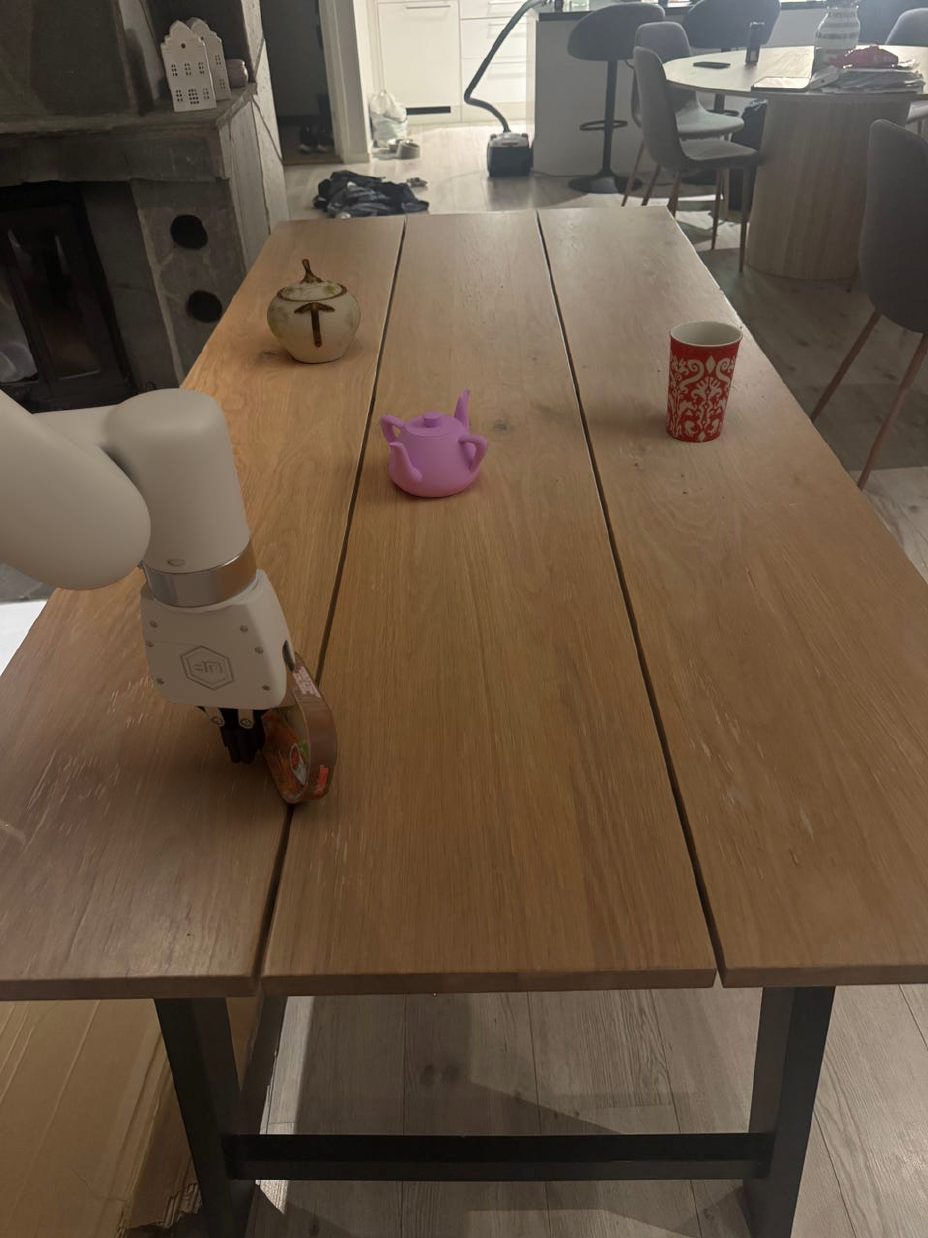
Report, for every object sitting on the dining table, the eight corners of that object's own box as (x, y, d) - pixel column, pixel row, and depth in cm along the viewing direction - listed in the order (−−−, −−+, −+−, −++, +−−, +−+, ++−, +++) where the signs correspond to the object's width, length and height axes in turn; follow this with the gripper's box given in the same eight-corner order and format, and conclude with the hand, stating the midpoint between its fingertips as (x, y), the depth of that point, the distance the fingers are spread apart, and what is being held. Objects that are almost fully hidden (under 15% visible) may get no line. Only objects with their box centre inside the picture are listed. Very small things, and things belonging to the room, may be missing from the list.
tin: (244, 709, 82) (253, 629, 78) (278, 706, 83) (290, 627, 79) (293, 827, 71) (307, 741, 67) (332, 821, 72) (348, 736, 68)
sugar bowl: (273, 338, 160) (258, 247, 151) (359, 329, 161) (350, 239, 152) (274, 381, 144) (258, 282, 135) (370, 371, 146) (360, 273, 137)
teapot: (394, 510, 110) (388, 442, 105) (382, 459, 121) (375, 395, 116) (492, 498, 112) (491, 431, 106) (471, 448, 123) (469, 385, 117)
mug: (737, 443, 121) (752, 342, 113) (668, 447, 121) (679, 346, 113) (711, 404, 131) (723, 309, 123) (647, 408, 131) (655, 312, 123)
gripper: (78, 591, 64) (143, 778, 75) (287, 602, 62) (323, 792, 73) (125, 534, 70) (179, 714, 81) (317, 542, 68) (346, 726, 78)
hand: (247, 751), depth 77 cm, fingers closed
